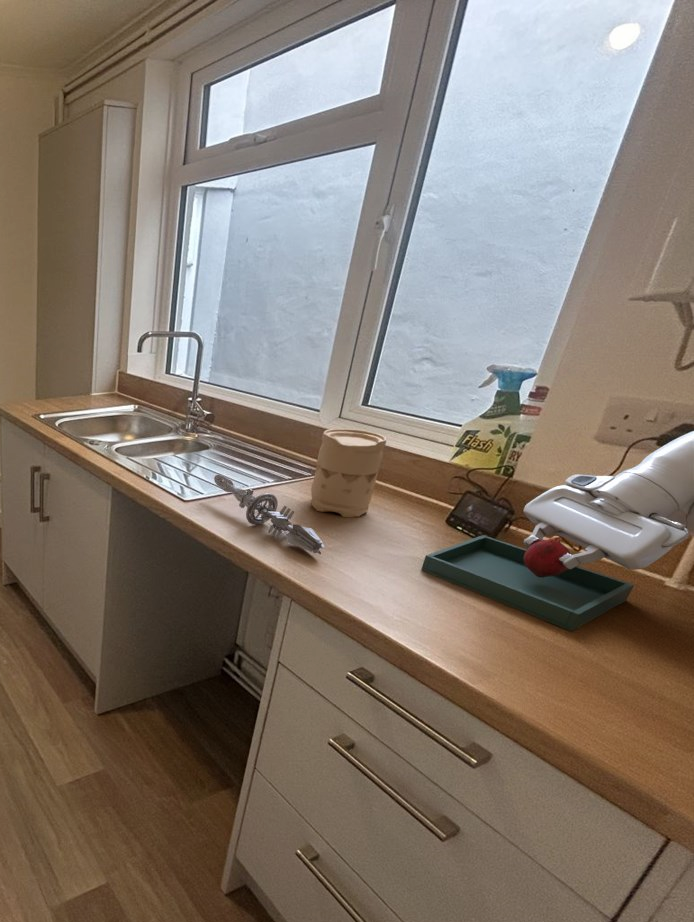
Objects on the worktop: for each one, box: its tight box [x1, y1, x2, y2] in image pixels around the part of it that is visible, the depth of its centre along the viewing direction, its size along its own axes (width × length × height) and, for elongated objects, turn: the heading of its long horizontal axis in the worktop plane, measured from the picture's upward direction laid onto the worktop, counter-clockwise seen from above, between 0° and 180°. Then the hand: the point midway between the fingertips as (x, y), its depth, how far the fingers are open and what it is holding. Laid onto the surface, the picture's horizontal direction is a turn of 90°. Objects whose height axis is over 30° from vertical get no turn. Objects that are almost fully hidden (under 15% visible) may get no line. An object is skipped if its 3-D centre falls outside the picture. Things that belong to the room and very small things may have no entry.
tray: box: [421, 534, 635, 632], centre depth 93 cm, size 22×20×3 cm
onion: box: [524, 535, 572, 578], centre depth 92 cm, size 6×6×8 cm
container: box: [310, 428, 388, 518], centre depth 124 cm, size 13×13×18 cm
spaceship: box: [213, 474, 326, 555], centre depth 117 cm, size 8×35×8 cm
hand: (544, 554), depth 92 cm, fingers closed on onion, 6 cm apart
